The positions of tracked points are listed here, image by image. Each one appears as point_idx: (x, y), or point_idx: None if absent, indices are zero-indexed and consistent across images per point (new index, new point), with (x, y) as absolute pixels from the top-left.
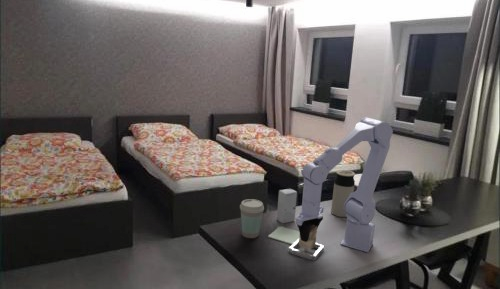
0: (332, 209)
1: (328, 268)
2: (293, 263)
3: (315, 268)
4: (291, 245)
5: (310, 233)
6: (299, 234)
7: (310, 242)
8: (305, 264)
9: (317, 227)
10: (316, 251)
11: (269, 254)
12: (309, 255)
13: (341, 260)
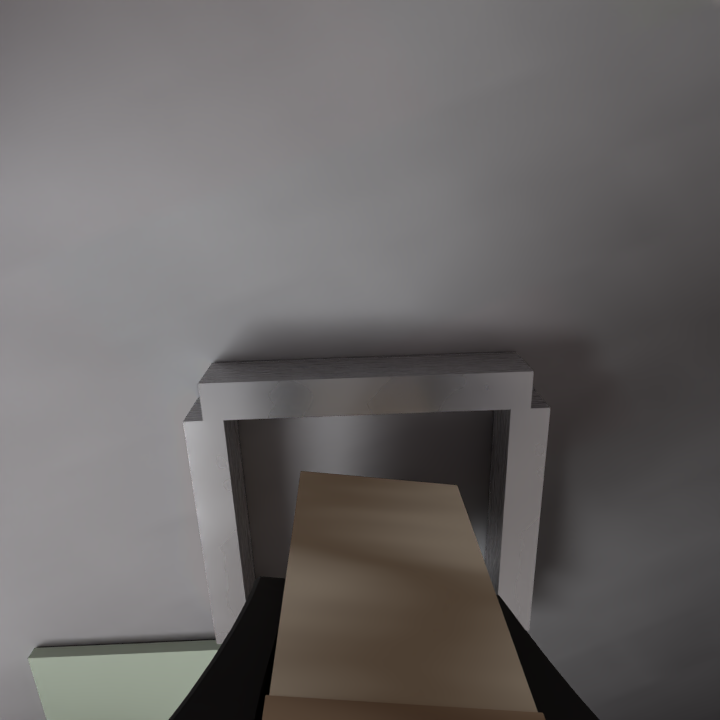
0: None
1: (606, 148)
2: (687, 499)
3: (680, 281)
4: None
5: (527, 695)
6: (100, 685)
7: (460, 549)
8: (649, 401)
9: (205, 707)
10: (406, 406)
11: (633, 707)
12: (547, 434)
13: (308, 67)
